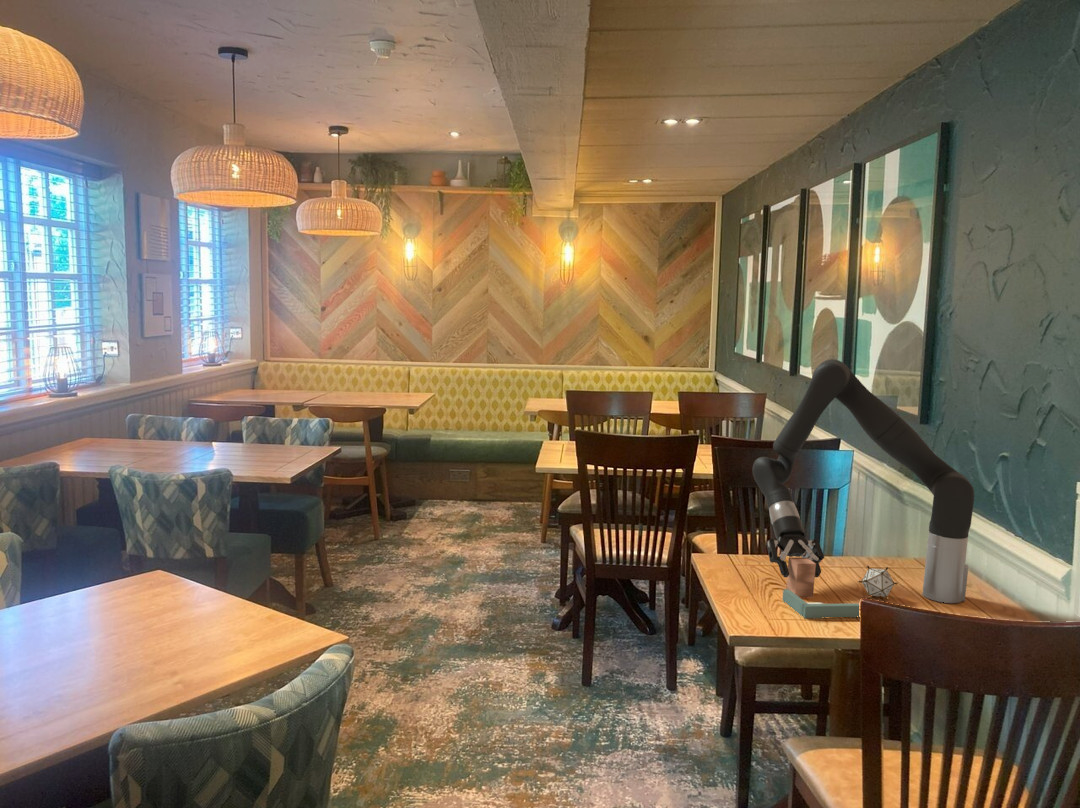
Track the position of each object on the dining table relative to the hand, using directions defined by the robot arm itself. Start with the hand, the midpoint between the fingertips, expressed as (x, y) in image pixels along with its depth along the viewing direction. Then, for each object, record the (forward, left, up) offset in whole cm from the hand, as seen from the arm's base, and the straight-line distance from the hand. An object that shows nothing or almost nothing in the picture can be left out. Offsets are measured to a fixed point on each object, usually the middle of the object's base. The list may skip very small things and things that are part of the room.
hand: (802, 576), depth 206 cm
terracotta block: (0, -1, -5) cm, 5 cm away
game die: (-20, +2, -5) cm, 21 cm away
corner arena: (-1, +10, -5) cm, 11 cm away
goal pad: (+1, +10, -5) cm, 11 cm away
